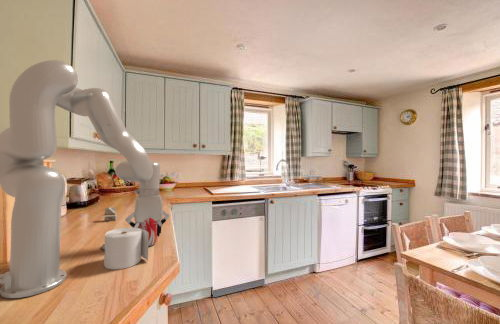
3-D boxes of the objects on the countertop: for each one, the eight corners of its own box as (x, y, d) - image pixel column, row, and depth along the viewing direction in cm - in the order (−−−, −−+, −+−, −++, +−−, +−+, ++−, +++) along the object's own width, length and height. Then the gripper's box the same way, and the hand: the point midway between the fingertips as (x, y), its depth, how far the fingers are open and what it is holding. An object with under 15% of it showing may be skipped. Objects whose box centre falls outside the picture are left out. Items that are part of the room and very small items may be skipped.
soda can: (133, 246, 87) (134, 215, 87) (145, 240, 94) (146, 212, 94) (149, 248, 85) (150, 217, 85) (160, 242, 92) (161, 213, 92)
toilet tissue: (102, 259, 75) (103, 230, 75) (141, 252, 82) (142, 225, 82) (105, 273, 66) (106, 239, 66) (148, 263, 74) (149, 233, 74)
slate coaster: (100, 252, 80) (100, 250, 80) (102, 244, 88) (102, 242, 88) (129, 248, 85) (129, 246, 85) (128, 240, 93) (128, 238, 93)
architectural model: (115, 222, 120) (115, 208, 120) (100, 223, 118) (100, 209, 118) (116, 220, 123) (116, 207, 123) (101, 221, 121) (102, 207, 121)
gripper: (124, 195, 82) (122, 243, 82) (173, 192, 91) (172, 236, 91) (124, 192, 88) (122, 237, 88) (169, 190, 97) (168, 231, 97)
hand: (147, 236), depth 90 cm, fingers closed on soda can, 7 cm apart
